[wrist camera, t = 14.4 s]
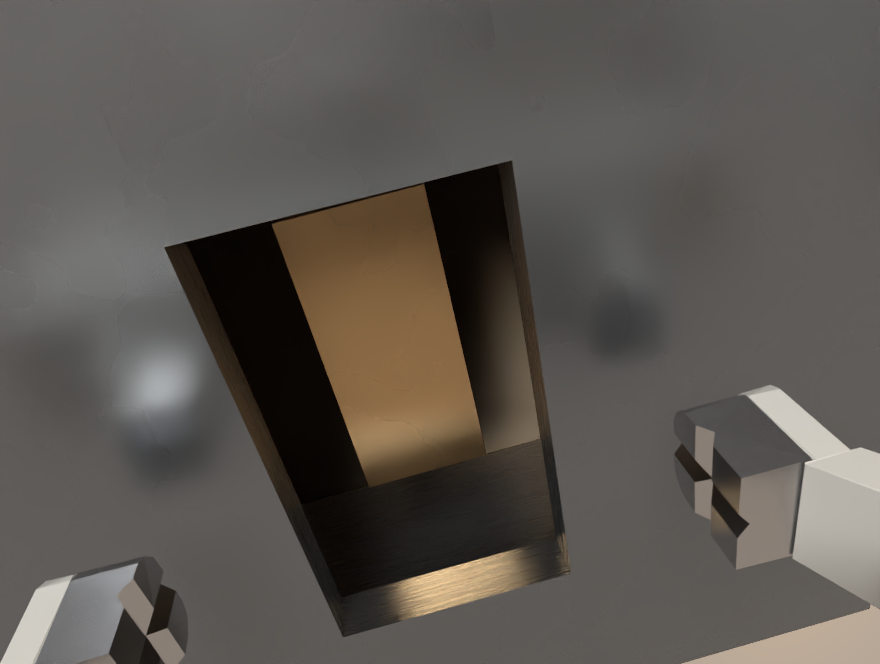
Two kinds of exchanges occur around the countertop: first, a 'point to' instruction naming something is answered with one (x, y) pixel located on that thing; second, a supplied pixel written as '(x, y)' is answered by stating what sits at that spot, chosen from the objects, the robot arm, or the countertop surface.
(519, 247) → the post box
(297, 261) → the brown wooden block
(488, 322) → the countertop surface
